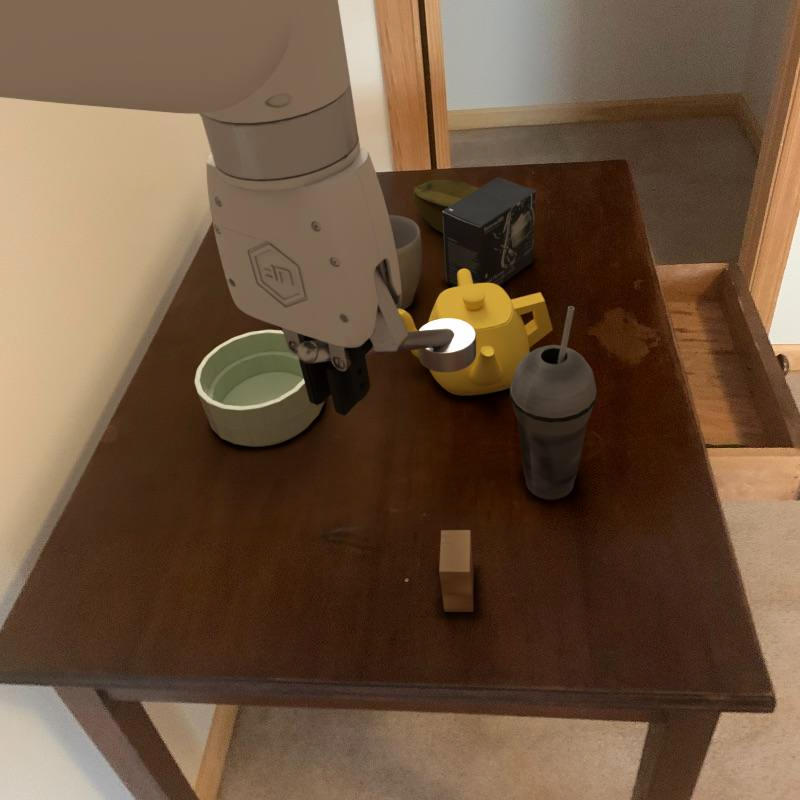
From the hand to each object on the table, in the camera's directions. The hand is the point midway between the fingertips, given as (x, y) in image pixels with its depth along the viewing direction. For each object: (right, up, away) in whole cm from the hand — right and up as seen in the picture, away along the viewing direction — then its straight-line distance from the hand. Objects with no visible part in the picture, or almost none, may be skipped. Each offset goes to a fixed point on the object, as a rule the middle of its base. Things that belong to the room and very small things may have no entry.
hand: (340, 395), depth 51 cm
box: (+16, +16, +47) cm, 52 cm away
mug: (+1, +12, +45) cm, 47 cm away
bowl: (-11, -1, +33) cm, 35 cm away
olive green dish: (+13, +24, +57) cm, 63 cm away
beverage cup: (+18, -8, +21) cm, 29 cm away
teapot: (+12, +3, +34) cm, 36 cm away
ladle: (+4, -1, +8) cm, 9 cm away
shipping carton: (+9, -16, +13) cm, 23 cm away
